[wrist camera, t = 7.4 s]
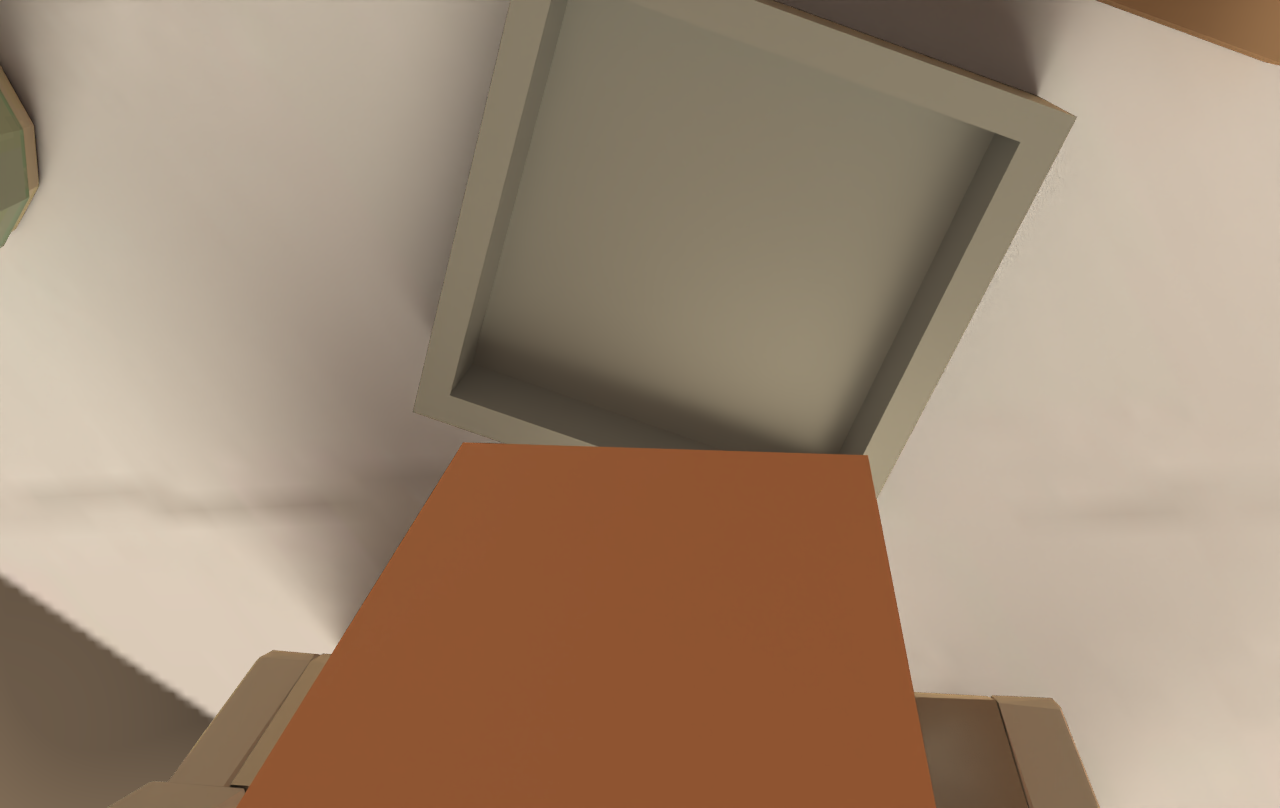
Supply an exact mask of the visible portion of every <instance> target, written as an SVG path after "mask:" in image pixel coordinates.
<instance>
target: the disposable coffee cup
mask: <svg viewBox="0 0 1280 808" xmlns="http://www.w3.org/2000/svg"><path fill="white" fill-rule="evenodd" d="M38 187H39V179H38V167H37V156H36V145H35V133H34V125H33V123H32V121H31V120H30V118H29V116H28V114H27V112H26V111H25V109H24V107H23V105H22V104H21V102H20V100H19V98H18V96H17V95H16V93H15V91H14V89H13V87H12V86H11V84H10V82H9V80H8V79H7V77H6V75H5V73H4V71H3V70H2V68H1V66H0V248H1V247H2V246H4V244H5V242H6V240H7V239H8V237H9V235H10V233H11V232H12V231H13V230H15V229H16V228H17V226H18V224H19V222H20V220H21V218H22V217H23V215H24V213H25V211H26V209H27V207H28V205H29V204H30V202H31V200H32V198H33V196H34V194H35V192H36V191H37V189H38Z"/></svg>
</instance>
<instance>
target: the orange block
mask: <svg viewBox="0 0 1280 808" xmlns="http://www.w3.org/2000/svg"><path fill="white" fill-rule="evenodd" d="M236 808H936V804H935V799H934V794H933V789H932V783H931V778H930V773H929V768H928V763H927V758H926V752H925V747H924V742H923V737H922V732H921V727H920V721H919V716H918V711H917V706H916V701H915V696H914V690H913V685H912V680H911V675H910V670H909V665H908V660H907V654H906V649H905V644H904V639H903V634H902V629H901V623H900V618H899V613H898V608H897V603H896V598H895V592H894V587H893V582H892V577H891V572H890V567H889V561H888V556H887V551H886V546H885V541H884V536H883V531H882V525H881V520H880V515H879V510H878V505H877V500H876V494H875V489H874V484H873V479H872V474H871V469H870V463H869V458H868V455H847V454H815V453H783V452H751V451H719V450H688V449H656V448H624V447H592V446H560V445H529V444H497V443H465V442H463V443H462V445H461V447H460V448H459V450H458V451H457V453H456V455H455V456H454V458H453V460H452V461H451V463H450V464H449V466H448V468H447V469H446V471H445V472H444V474H443V476H442V477H441V479H440V480H439V482H438V484H437V485H436V487H435V489H434V490H433V492H432V493H431V495H430V497H429V498H428V500H427V501H426V503H425V505H424V506H423V508H422V509H421V511H420V513H419V514H418V516H417V517H416V519H415V521H414V522H413V524H412V526H411V527H410V529H409V530H408V532H407V534H406V535H405V537H404V538H403V540H402V542H401V543H400V545H399V546H398V548H397V550H396V551H395V553H394V554H393V556H392V558H391V559H390V561H389V563H388V564H387V566H386V567H385V569H384V571H383V572H382V574H381V575H380V577H379V579H378V580H377V582H376V583H375V585H374V587H373V588H372V590H371V591H370V593H369V595H368V596H367V598H366V600H365V601H364V603H363V604H362V606H361V608H360V609H359V611H358V612H357V614H356V616H355V617H354V619H353V620H352V622H351V624H350V625H349V627H348V628H347V630H346V632H345V633H344V635H343V637H342V638H341V640H340V641H339V643H338V645H337V646H336V648H335V649H334V651H333V653H332V654H331V656H330V657H329V659H328V661H327V662H326V664H325V666H324V667H323V669H322V670H321V672H320V674H319V675H318V677H317V678H316V680H315V682H314V683H313V685H312V686H311V688H310V690H309V691H308V693H307V694H306V696H305V698H304V699H303V701H302V703H301V704H300V706H299V707H298V709H297V711H296V712H295V714H294V715H293V717H292V719H291V720H290V722H289V723H288V725H287V727H286V728H285V730H284V731H283V733H282V735H281V736H280V738H279V740H278V741H277V743H276V744H275V746H274V748H273V749H272V751H271V752H270V754H269V756H268V757H267V759H266V760H265V762H264V764H263V765H262V767H261V768H260V770H259V772H258V773H257V775H256V777H255V778H254V780H253V781H252V783H251V785H250V786H249V788H248V789H247V791H246V793H245V794H244V796H243V797H242V799H241V801H240V802H239V804H238V805H237V807H236Z"/></svg>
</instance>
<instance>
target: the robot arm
mask: <svg viewBox="0 0 1280 808" xmlns="http://www.w3.org/2000/svg"><path fill="white" fill-rule="evenodd" d="M330 656H331V654H321V655H319V654H310V653H299V652H288V651H277V650H272V651H271V652H269V653H267V654H265V655H263V656H261V657H260V658H259V659H258V660H257V661H256V662H255V663H254V665H253V666H252V667H251V669H250V670H249V672H248V673H247V674H246V676H245V677H244V678H243V680H242V681H241V683H240V684H239V685H238V687H237V688H236V689H235V691H234V692H233V693H232V695H231V696H230V698H229V699H228V700H227V702H226V703H225V704H224V706H223V707H222V709H221V710H220V711H219V713H218V714H217V715H216V717H215V718H214V719H213V721H212V722H211V724H210V725H209V726H208V728H207V729H206V731H205V732H204V733H203V735H202V736H201V737H200V739H199V740H198V742H197V743H196V744H195V745H194V747H193V748H192V750H191V751H190V752H189V754H188V755H187V756H186V758H185V759H184V761H183V762H182V763H181V765H180V766H179V768H178V769H177V770H176V771H175V773H174V774H173V776H172V777H171V778H170V780H169V781H168V782H159V781H151V782H149V783H148V784H146V785H144V786H143V787H141V788H139V789H138V790H136V791H134V792H132V793H131V794H129V795H127V796H126V797H124V798H122V799H121V800H119V801H117V802H115V803H114V804H112V805H111V806H109V807H107V808H236V807H237V805H238V804H239V802H240V801H241V799H242V797H243V796H244V794H245V793H246V791H247V789H248V788H249V786H250V785H251V783H252V781H253V780H254V778H255V777H256V775H257V773H258V772H259V770H260V768H261V767H262V765H263V764H264V762H265V760H266V759H267V757H268V756H269V754H270V752H271V751H272V749H273V748H274V746H275V744H276V743H277V741H278V740H279V738H280V736H281V735H282V733H283V731H284V730H285V728H286V727H287V725H288V723H289V722H290V720H291V719H292V717H293V715H294V714H295V712H296V711H297V709H298V707H299V706H300V704H301V703H302V701H303V699H304V698H305V696H306V694H307V693H308V691H309V690H310V688H311V686H312V685H313V683H314V682H315V680H316V678H317V677H318V675H319V674H320V672H321V670H322V669H323V667H324V666H325V664H326V662H327V661H328V659H329V657H330ZM914 696H915V701H916V706H917V711H918V716H919V721H920V727H921V732H922V737H923V742H924V747H925V752H926V758H927V763H928V768H929V773H930V778H931V783H932V789H933V794H934V799H935V804H936V808H1100V806H1099V804H1098V801H1097V799H1096V796H1095V794H1094V791H1093V788H1092V786H1091V783H1090V781H1089V778H1088V776H1087V773H1086V771H1085V768H1084V765H1083V763H1082V760H1081V758H1080V755H1079V753H1078V750H1077V748H1076V745H1075V743H1074V740H1073V737H1072V735H1071V732H1070V730H1069V727H1068V725H1067V722H1066V720H1065V717H1064V714H1063V712H1062V709H1061V707H1060V706H1059V705H1058V704H1057V703H1056V702H1055V701H1054V700H1053V699H1052V698H1040V697H1017V696H994V695H992V696H991V697H988V696H977V695H959V694H940V693H922V692H914Z"/></svg>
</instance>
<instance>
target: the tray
mask: <svg viewBox="0 0 1280 808" xmlns="http://www.w3.org/2000/svg"><path fill="white" fill-rule="evenodd" d="M1076 118H1077V117H1076V116H1074V115H1072V114H1070V113H1068V112H1067V111H1065V110H1063V109H1061V108H1059V107H1057V106H1055V105H1054V104H1052V103H1050V102H1048V101H1046V100H1044V99H1042V98H1041V97H1039V96H1036V95H1033V94H1031V93H1028V92H1025V91H1022V90H1020V89H1017V88H1014V87H1011V86H1009V85H1006V84H1003V83H1000V82H998V81H995V80H992V79H989V78H986V77H984V76H981V75H978V74H975V73H973V72H970V71H967V70H964V69H962V68H959V67H956V66H953V65H951V64H948V63H945V62H942V61H940V60H937V59H934V58H931V57H929V56H926V55H923V54H920V53H917V52H915V51H912V50H909V49H906V48H904V47H901V46H898V45H895V44H893V43H890V42H887V41H884V40H882V39H879V38H876V37H873V36H871V35H868V34H865V33H862V32H859V31H857V30H854V29H851V28H848V27H846V26H843V25H840V24H837V23H835V22H832V21H829V20H826V19H824V18H821V17H818V16H815V15H813V14H810V13H807V12H804V11H801V10H799V9H796V8H793V7H790V6H788V5H785V4H782V3H779V2H777V1H774V0H510V4H509V9H508V13H507V17H506V21H505V26H504V30H503V34H502V38H501V42H500V47H499V51H498V55H497V59H496V63H495V68H494V72H493V76H492V80H491V84H490V89H489V93H488V97H487V101H486V106H485V110H484V114H483V118H482V122H481V127H480V131H479V135H478V139H477V143H476V148H475V152H474V156H473V160H472V164H471V169H470V173H469V177H468V181H467V186H466V190H465V194H464V198H463V202H462V207H461V211H460V215H459V219H458V223H457V228H456V232H455V236H454V240H453V245H452V249H451V253H450V257H449V261H448V266H447V270H446V274H445V278H444V282H443V287H442V291H441V295H440V299H439V303H438V308H437V312H436V316H435V320H434V325H433V329H432V333H431V337H430V341H429V346H428V350H427V354H426V358H425V362H424V367H423V371H422V375H421V379H420V383H419V388H418V392H417V396H416V400H415V405H414V409H413V412H414V413H417V414H420V415H423V416H426V417H429V418H432V419H435V420H438V421H441V422H444V423H447V424H449V425H452V426H455V427H458V428H461V429H464V430H467V431H470V432H473V433H476V434H479V435H482V436H484V437H487V438H490V439H493V440H496V441H499V442H502V443H505V444H529V445H560V446H592V447H624V448H656V449H688V450H719V451H751V452H783V453H815V454H847V455H868V458H869V463H870V469H871V474H872V479H873V484H874V489H875V494H876V499H877V497H878V495H879V494H880V492H881V490H882V488H883V486H884V484H885V482H886V480H887V478H888V476H889V474H890V473H891V471H892V469H893V467H894V465H895V463H896V461H897V459H898V457H899V455H900V453H901V452H902V450H903V448H904V446H905V444H906V442H907V440H908V438H909V436H910V434H911V433H912V431H913V429H914V427H915V425H916V423H917V421H918V419H919V417H920V415H921V413H922V412H923V410H924V408H925V406H926V404H927V402H928V400H929V398H930V396H931V394H932V392H933V391H934V389H935V387H936V385H937V383H938V381H939V379H940V377H941V375H942V373H943V371H944V370H945V368H946V366H947V364H948V362H949V360H950V358H951V356H952V354H953V352H954V351H955V349H956V347H957V345H958V343H959V341H960V339H961V337H962V335H963V333H964V331H965V330H966V328H967V326H968V324H969V322H970V320H971V318H972V316H973V314H974V312H975V310H976V309H977V307H978V305H979V303H980V301H981V299H982V297H983V295H984V293H985V291H986V290H987V288H988V286H989V284H990V282H991V280H992V278H993V276H994V274H995V272H996V270H997V269H998V267H999V265H1000V263H1001V261H1002V259H1003V257H1004V255H1005V253H1006V251H1007V249H1008V248H1009V246H1010V244H1011V242H1012V240H1013V238H1014V236H1015V234H1016V232H1017V230H1018V228H1019V227H1020V225H1021V223H1022V221H1023V219H1024V217H1025V215H1026V213H1027V211H1028V209H1029V208H1030V206H1031V204H1032V202H1033V200H1034V198H1035V196H1036V194H1037V192H1038V190H1039V188H1040V187H1041V185H1042V183H1043V181H1044V179H1045V177H1046V175H1047V173H1048V171H1049V169H1050V167H1051V166H1052V164H1053V162H1054V160H1055V158H1056V156H1057V154H1058V152H1059V150H1060V148H1061V147H1062V145H1063V143H1064V141H1065V139H1066V137H1067V135H1068V133H1069V131H1070V129H1071V127H1072V126H1073V124H1074V122H1075V120H1076Z"/></svg>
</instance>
